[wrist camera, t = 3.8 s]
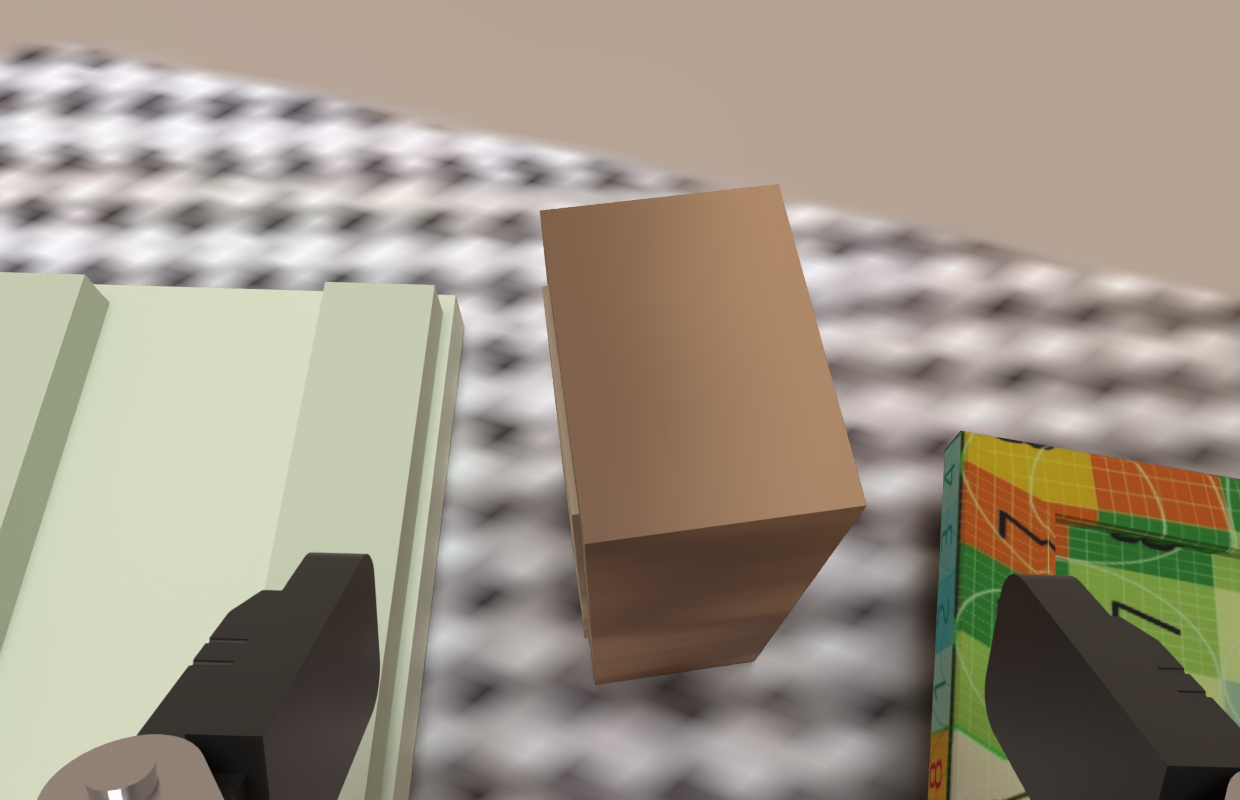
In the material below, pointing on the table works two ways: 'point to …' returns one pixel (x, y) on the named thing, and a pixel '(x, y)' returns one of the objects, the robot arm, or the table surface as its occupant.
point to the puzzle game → (1090, 551)
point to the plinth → (208, 492)
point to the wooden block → (691, 426)
